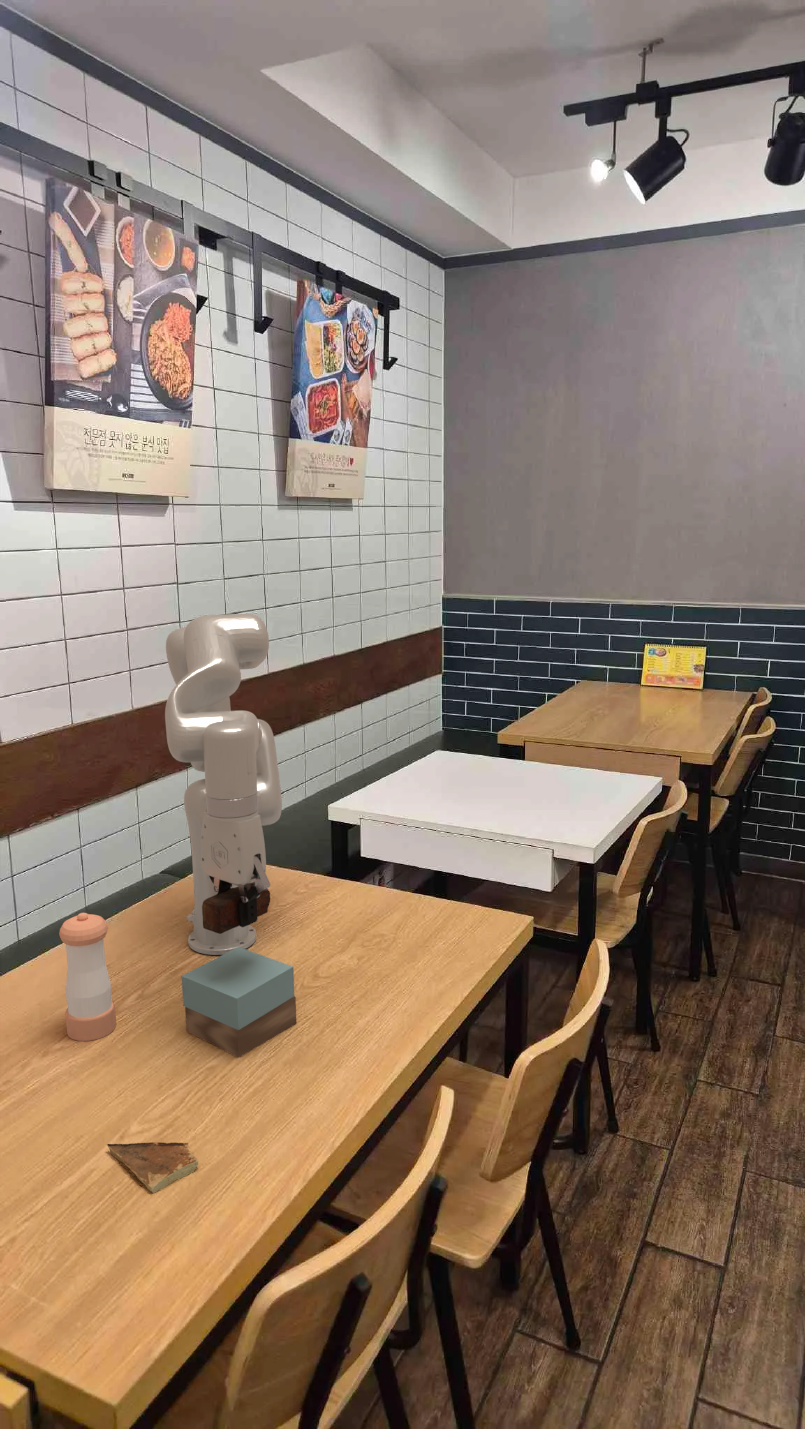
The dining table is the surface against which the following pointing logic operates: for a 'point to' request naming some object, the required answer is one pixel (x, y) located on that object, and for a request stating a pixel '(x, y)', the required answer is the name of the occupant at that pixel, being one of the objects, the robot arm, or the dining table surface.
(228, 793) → the robot arm
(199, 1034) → the tower base
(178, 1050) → the dining table surface
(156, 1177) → the shard
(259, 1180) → the dining table surface
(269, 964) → the tower top
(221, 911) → the brick
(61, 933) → the salt shaker
